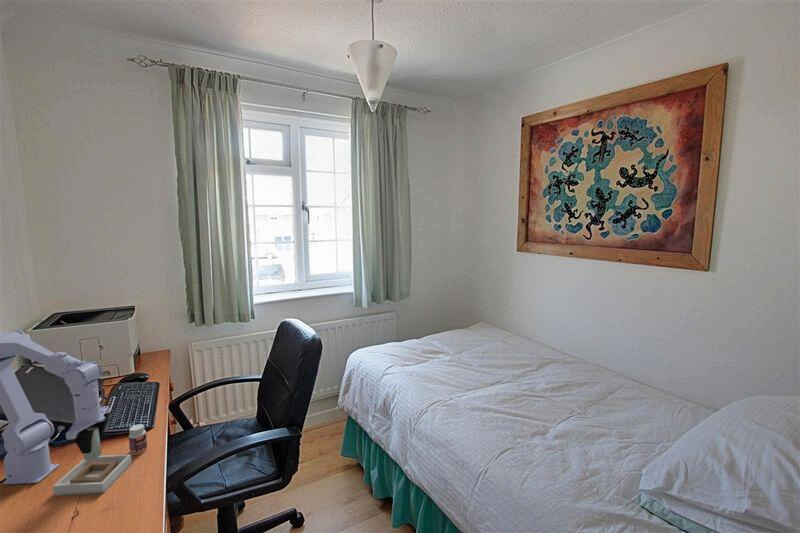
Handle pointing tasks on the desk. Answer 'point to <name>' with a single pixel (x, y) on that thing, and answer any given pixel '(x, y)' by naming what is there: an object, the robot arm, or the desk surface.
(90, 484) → the tray
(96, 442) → the peg
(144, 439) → the pill bottle
